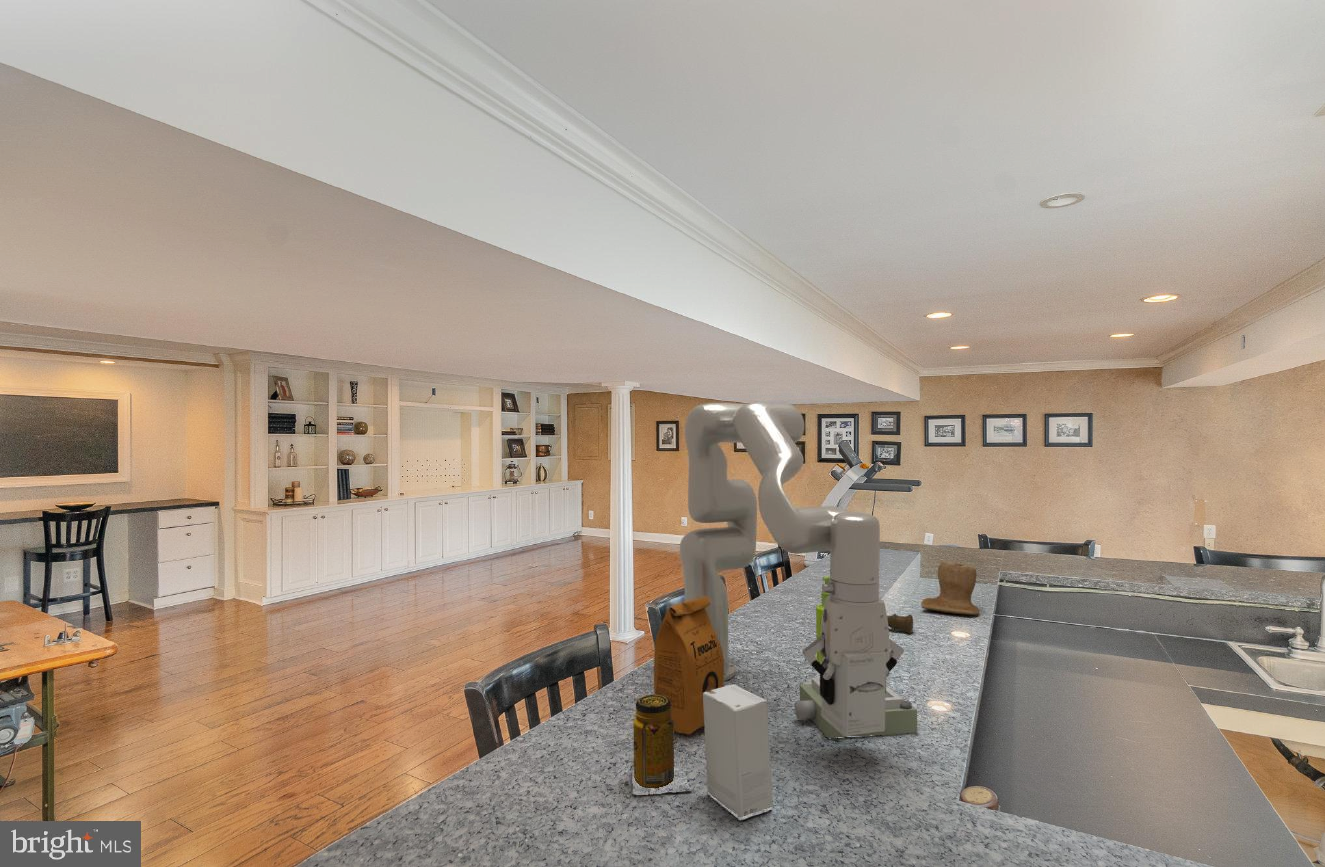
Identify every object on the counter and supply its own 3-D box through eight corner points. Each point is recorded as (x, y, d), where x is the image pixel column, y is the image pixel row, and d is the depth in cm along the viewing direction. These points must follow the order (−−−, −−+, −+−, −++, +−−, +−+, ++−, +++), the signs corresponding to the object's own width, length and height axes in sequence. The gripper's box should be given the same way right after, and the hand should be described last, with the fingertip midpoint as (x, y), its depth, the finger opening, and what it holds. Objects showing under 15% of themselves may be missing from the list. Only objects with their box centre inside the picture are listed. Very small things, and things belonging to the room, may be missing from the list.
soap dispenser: (849, 671, 137) (848, 580, 138) (817, 669, 138) (816, 579, 139) (847, 662, 143) (845, 575, 143) (816, 660, 144) (814, 574, 145)
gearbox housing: (811, 740, 104) (811, 707, 105) (784, 706, 118) (784, 677, 119) (917, 732, 107) (916, 700, 107) (878, 700, 121) (878, 672, 121)
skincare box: (773, 811, 84) (772, 700, 85) (737, 825, 81) (736, 710, 82) (737, 782, 92) (735, 681, 92) (702, 794, 89) (701, 689, 89)
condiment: (630, 771, 95) (629, 692, 96) (685, 768, 96) (684, 689, 96) (632, 797, 88) (632, 712, 88) (691, 794, 89) (691, 709, 89)
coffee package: (733, 720, 113) (732, 598, 113) (687, 743, 104) (686, 611, 105) (693, 704, 120) (691, 590, 120) (646, 725, 111) (645, 601, 112)
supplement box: (844, 738, 95) (845, 656, 95) (820, 716, 102) (821, 640, 102) (886, 732, 97) (887, 652, 97) (859, 711, 104) (860, 636, 104)
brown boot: (981, 610, 187) (980, 560, 187) (976, 620, 177) (975, 567, 177) (928, 604, 195) (927, 556, 196) (920, 612, 185) (919, 562, 186)
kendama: (910, 640, 160) (832, 628, 170) (914, 631, 169) (840, 620, 178) (910, 617, 161) (833, 606, 170) (915, 609, 169) (840, 599, 179)
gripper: (810, 598, 94) (809, 713, 94) (917, 595, 97) (916, 707, 97) (793, 586, 102) (792, 692, 102) (893, 583, 104) (892, 687, 104)
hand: (852, 699), depth 99 cm, fingers closed on supplement box, 7 cm apart
